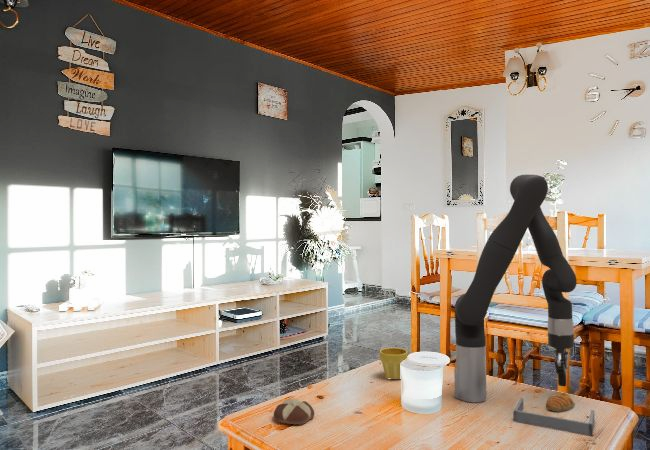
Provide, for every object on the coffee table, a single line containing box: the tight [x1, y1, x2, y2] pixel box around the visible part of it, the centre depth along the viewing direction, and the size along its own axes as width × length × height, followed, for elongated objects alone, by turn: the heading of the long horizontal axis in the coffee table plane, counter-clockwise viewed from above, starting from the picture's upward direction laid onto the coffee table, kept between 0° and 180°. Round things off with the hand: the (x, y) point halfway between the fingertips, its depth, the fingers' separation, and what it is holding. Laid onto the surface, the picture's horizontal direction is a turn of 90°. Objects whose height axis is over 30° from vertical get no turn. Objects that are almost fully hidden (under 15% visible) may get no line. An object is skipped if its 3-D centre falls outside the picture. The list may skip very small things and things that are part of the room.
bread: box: [273, 398, 315, 426], centre depth 143 cm, size 11×11×5 cm
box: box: [512, 398, 595, 437], centre depth 138 cm, size 20×11×3 cm, turn 58°
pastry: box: [545, 392, 576, 413], centre depth 148 cm, size 9×7×4 cm
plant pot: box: [379, 347, 409, 380], centre depth 178 cm, size 10×10×10 cm
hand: (562, 385), depth 156 cm, fingers closed
